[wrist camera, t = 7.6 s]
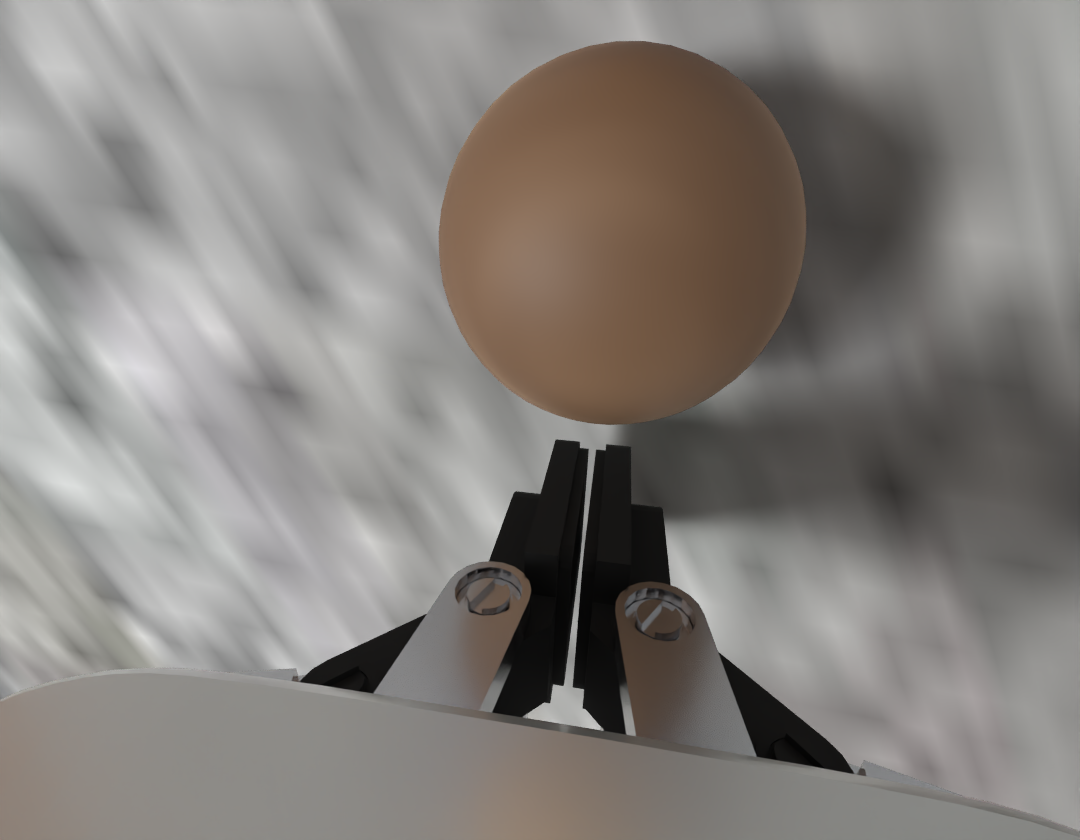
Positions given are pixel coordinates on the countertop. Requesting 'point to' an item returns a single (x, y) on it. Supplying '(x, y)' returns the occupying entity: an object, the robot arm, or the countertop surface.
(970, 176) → the countertop surface
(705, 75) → the brown egg
